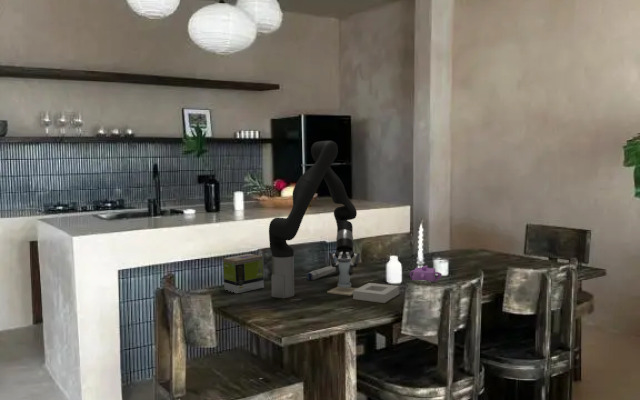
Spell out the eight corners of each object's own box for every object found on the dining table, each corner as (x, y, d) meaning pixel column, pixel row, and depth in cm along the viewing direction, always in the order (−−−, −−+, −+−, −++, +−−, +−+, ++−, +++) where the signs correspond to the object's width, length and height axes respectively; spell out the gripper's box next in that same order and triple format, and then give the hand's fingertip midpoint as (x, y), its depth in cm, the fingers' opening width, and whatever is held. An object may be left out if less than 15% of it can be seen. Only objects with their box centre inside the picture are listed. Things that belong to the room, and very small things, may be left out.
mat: (350, 295, 256) (350, 294, 256) (327, 292, 261) (327, 291, 261) (361, 290, 266) (361, 288, 266) (338, 287, 271) (338, 286, 271)
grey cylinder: (305, 271, 287) (342, 257, 304) (307, 285, 288) (343, 270, 305) (312, 273, 283) (349, 258, 300) (314, 287, 285) (351, 271, 301)
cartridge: (347, 288, 259) (347, 260, 258) (335, 286, 262) (334, 259, 261) (353, 285, 265) (353, 258, 264) (341, 283, 268) (341, 257, 266)
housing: (384, 303, 244) (384, 294, 243) (353, 299, 251) (353, 290, 250) (399, 294, 258) (399, 286, 257) (369, 290, 264) (368, 282, 264)
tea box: (251, 284, 278) (250, 252, 277) (264, 288, 271) (263, 255, 270) (223, 290, 269) (222, 257, 267) (236, 294, 261) (235, 260, 260)
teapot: (412, 283, 277) (412, 261, 276) (443, 285, 273) (443, 263, 272) (407, 293, 260) (407, 269, 259) (440, 294, 256) (440, 271, 255)
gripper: (328, 237, 269) (327, 269, 259) (360, 237, 268) (360, 269, 258) (329, 246, 275) (328, 279, 264) (360, 246, 274) (360, 279, 263)
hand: (344, 274), depth 261 cm, fingers closed on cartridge, 4 cm apart
